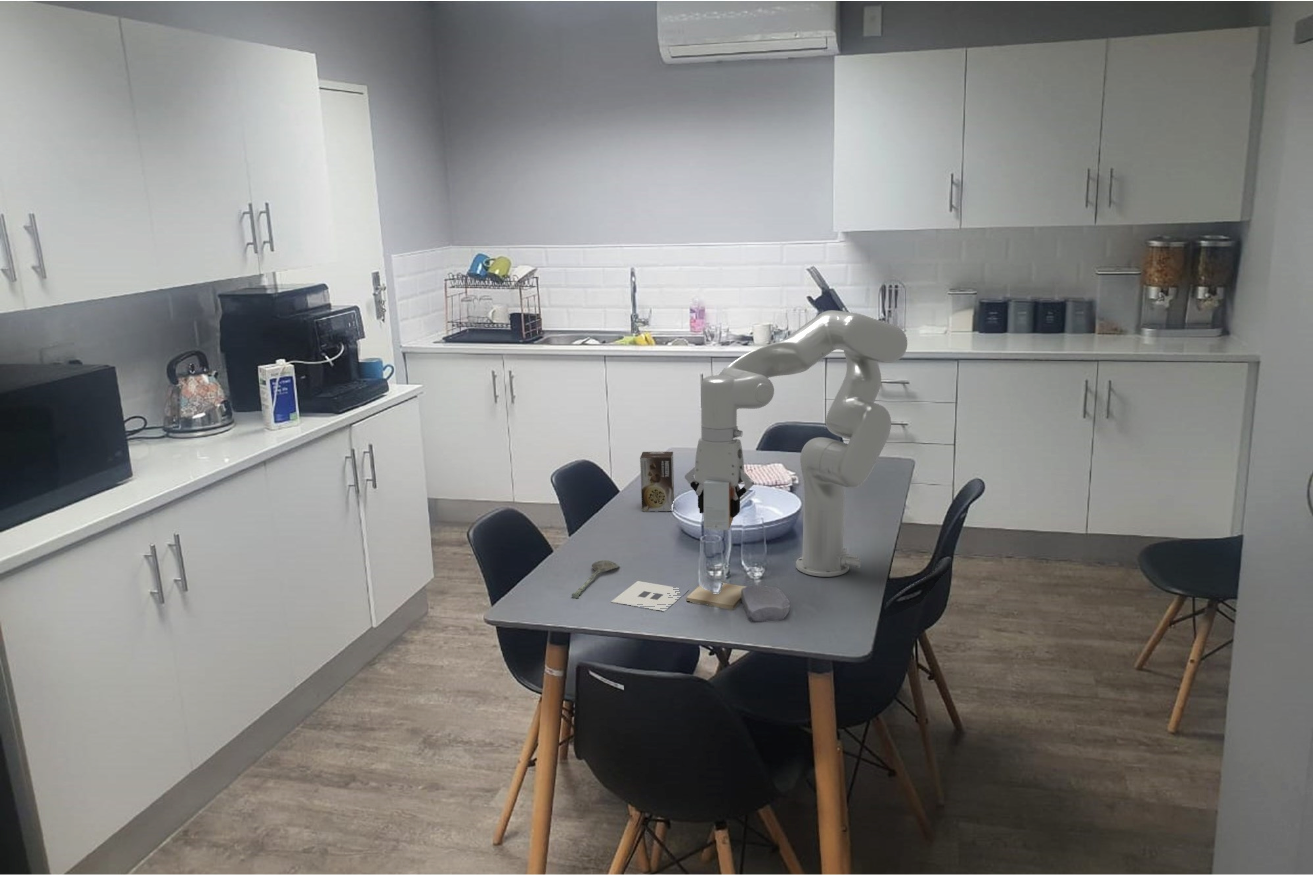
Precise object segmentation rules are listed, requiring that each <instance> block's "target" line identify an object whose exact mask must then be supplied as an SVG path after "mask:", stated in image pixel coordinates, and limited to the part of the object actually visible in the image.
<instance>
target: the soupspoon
mask: <svg viewBox="0 0 1313 875" xmlns="http://www.w3.org/2000/svg"><path fill="white" fill-rule="evenodd" d="M591 568H592V569H593V570H594V571H595V572H593V573H592V574H591V575H590V577H588V579H587V580H586V581H585V583H584V584H583V585H581V587H579V588H578V590H577V591H575V592H573V593H572V594H571V598H573V599H579V598H580V594H581V593H582V592H583V590H584V589H585V588H586V587H587V586H588V585H589V584H590V582H592V581H593V579H594V578H595V577H596V576H598V575H599V574H600V573H604V572H607V571H610V570H614V569H617V568H620V565H619V564H618V563H616V562H613V561H611V560H604V559H602V560H598V561H595V562H594V563H592V564H591Z"/></svg>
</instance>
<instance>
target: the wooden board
mask: <svg viewBox="0 0 1313 875" xmlns="http://www.w3.org/2000/svg"><path fill="white" fill-rule="evenodd" d="M722 583H723V585H722V588H721V592H720V593H719V594H713V592H710V590H705V589H704V588H702V587H701V586H700V585H698V586H697V587H696V588H695V589H694V590H693V591H692V592H691V593H690V594H688V595H687V596H686V597H685V602H686V601H690V602H689V603H691V602H694V603H693V604H697V603H700V604H699V605H702V604H708V605H711V606H710V607H714V606H715V608H719V609H724V610H725V609H726V610H731V611H733V610H734V609H735V608H737V607H738V605H740V603H742V602H741V590H742V589H743V588H745V587H746V586H744V585H738V584H732V583H726V582H722ZM708 605H707V606H708Z"/></svg>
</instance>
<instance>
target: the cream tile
mask: <svg viewBox="0 0 1313 875" xmlns="http://www.w3.org/2000/svg"><path fill="white" fill-rule="evenodd" d="M673 587H674V586H670V585H665V584H658V583H651V582H646V581H639V580H637V581H636V582H634V583H633V584H632V585H630V586H629V587H628V588H627V589H625V590H624V591H623V592H622V593H620V594H619V595H618V596H616V597H615V598H614V599H612V600H611V601H610V603H614V604H617V603H618V605H623V604H627V605H626V606H628V605H631V606H630V607H634V606H638V607H637V608H639V607H640V606H655V607H644V608H643V609H645V608H649V609H648V610H650V609H653V610H652V611H656V610H662V611H665V610H666V611H668V609H660V608H668V607H666V606H671V605H668V604H673V605H674V604H676V603H677V602H678V601H677V600H675V599H679V598H677V597H681V596H673V595H677V593H680V592H676V593H675V591H679V590H673V589H679V588H680V587H676V588H673ZM653 593H656V594H653ZM667 593H670V594H667ZM662 595H663V596H662ZM669 595H671V596H669ZM668 597H673V598H668ZM681 598H682V597H681ZM679 600H680V599H679ZM676 601H677V602H676ZM637 604H643V605H637ZM657 604H666V605H657ZM671 607H672V606H671ZM666 611H665V612H666Z"/></svg>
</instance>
